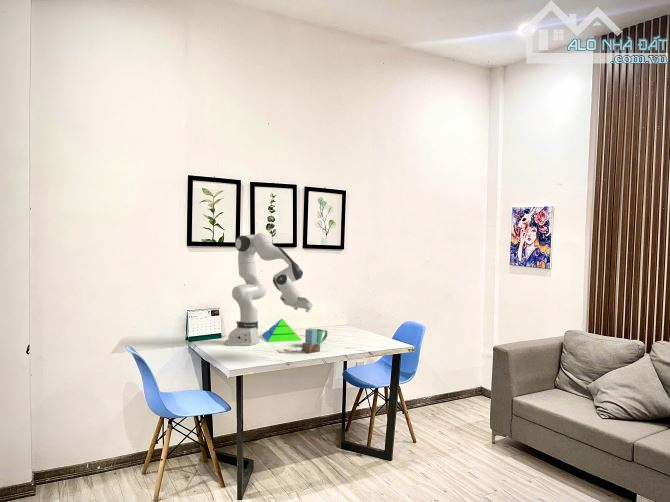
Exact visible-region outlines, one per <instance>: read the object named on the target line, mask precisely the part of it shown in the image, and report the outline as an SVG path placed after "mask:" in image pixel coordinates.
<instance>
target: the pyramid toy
mask: <svg viewBox="0 0 670 502" xmlns="http://www.w3.org/2000/svg"><path fill="white" fill-rule="evenodd" d="M262 337H263V338H264V339H265V341H266V342H267V343H275V342H276V343H280V342H297V341H298V342H299V341H303V339H302V338H301V337H300V336H299V335H298V334H297V333H296V332H295V331H294V329H292V328H291V327H290V325H289V323H287V322H286V321H285V320H284V319H283V318H280V319H279V320H278V321H277V322H275V324H273V325H271V327H270V328H268V329H267V330H266V331H265V332H264V333H262Z"/></svg>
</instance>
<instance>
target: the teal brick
mask: <svg viewBox="0 0 670 502" xmlns="http://www.w3.org/2000/svg"><path fill="white" fill-rule="evenodd" d="M317 329H318V328H312V327H310V328H307V329H305V335H304V336H305V340H304V341H305V342H304V343H305V344H309V345H314V344H317Z"/></svg>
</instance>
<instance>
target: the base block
mask: <svg viewBox="0 0 670 502" xmlns="http://www.w3.org/2000/svg"><path fill="white" fill-rule="evenodd" d="M301 345H302V346H301V352H305V353H307V354H314V353H319V352H321V343H320V344H318V343H317V344H314V345H309V344H305V342H302V343H301Z"/></svg>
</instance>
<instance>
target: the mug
mask: <svg viewBox="0 0 670 502" xmlns="http://www.w3.org/2000/svg"><path fill="white" fill-rule="evenodd" d="M316 329H317V343H318V344H320V345H321V344H322V343H323V342H324V341H325V340H326V338H327V337H328V330H327V329H319V328H316ZM323 333H324V335H323Z"/></svg>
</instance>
